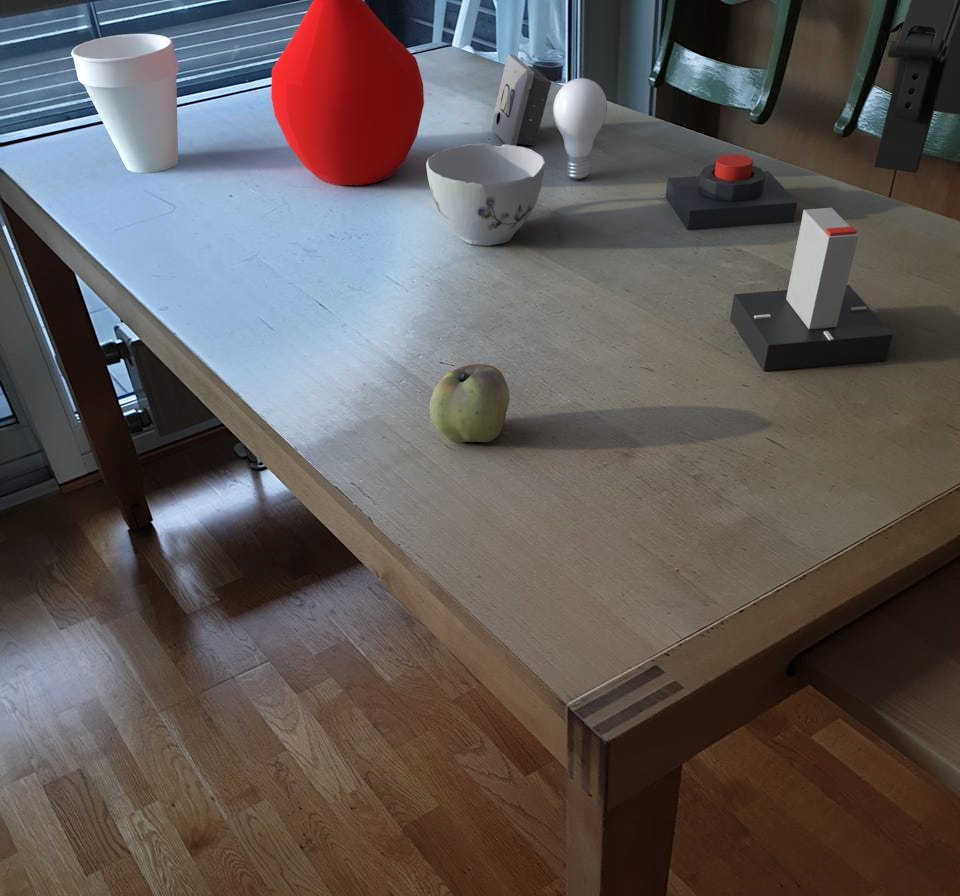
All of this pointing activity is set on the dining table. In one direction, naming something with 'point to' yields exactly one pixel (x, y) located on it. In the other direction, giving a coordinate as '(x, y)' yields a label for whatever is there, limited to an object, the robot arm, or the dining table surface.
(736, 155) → the power button
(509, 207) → the teacup
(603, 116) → the lightbulb
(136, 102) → the cup
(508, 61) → the electrical switch
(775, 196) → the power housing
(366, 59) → the vase
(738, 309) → the dial panel
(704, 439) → the dining table surface
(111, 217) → the dining table surface
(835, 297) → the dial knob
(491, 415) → the apple
